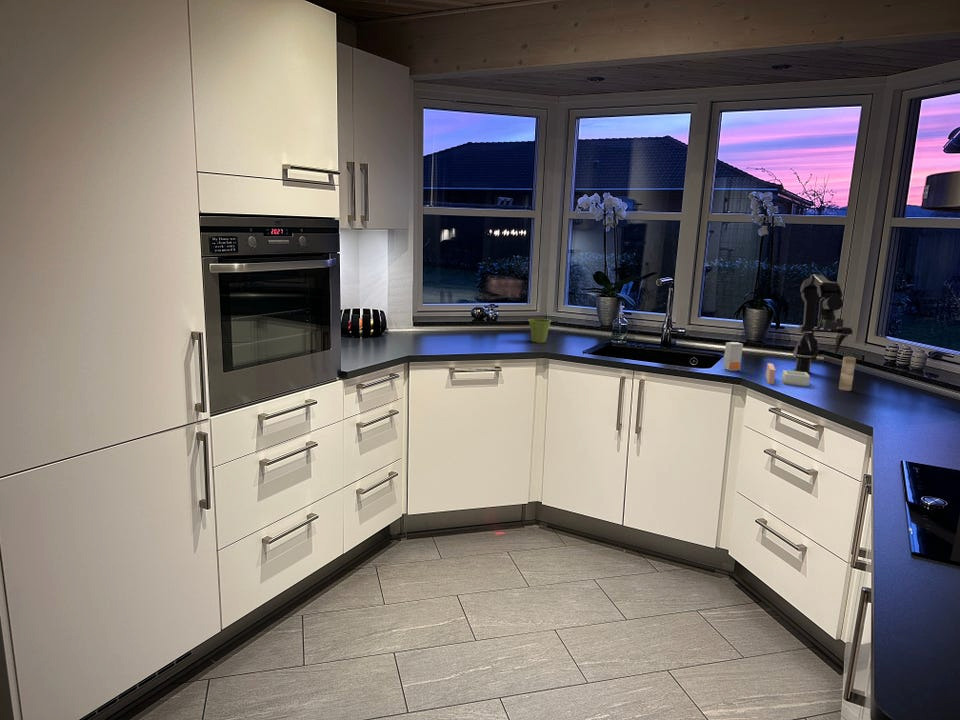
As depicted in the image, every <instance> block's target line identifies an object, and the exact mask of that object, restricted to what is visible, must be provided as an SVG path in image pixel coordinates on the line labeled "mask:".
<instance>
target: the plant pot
mask: <svg viewBox="0 0 960 720" xmlns="http://www.w3.org/2000/svg"><path fill="white" fill-rule="evenodd" d="M527 321H528V323H529V328H530V329H529V330H530V337H531V342H532V343H538V344H540V343H542V344H543V343H546V342H547V337H548V333H549V328H550V325H551V322H552V320H551V319H545V318H529V319H528V320H527Z"/></svg>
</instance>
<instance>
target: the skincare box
mask: <svg viewBox="0 0 960 720" xmlns="http://www.w3.org/2000/svg"><path fill="white" fill-rule="evenodd" d="M743 348H744V343H742V342H741V343H740V342H738V341H737V342H736V341H735V342H734V341H730V342H727V341H726V342H725V348H724V356H723V363H722V364H723V365H722V369H723V370H725V369H727V370H726V371H728V370H729V371H738V370H739V371H740V370H741V363H742V357H743V356H742V355H743V354H742V353H743Z"/></svg>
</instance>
